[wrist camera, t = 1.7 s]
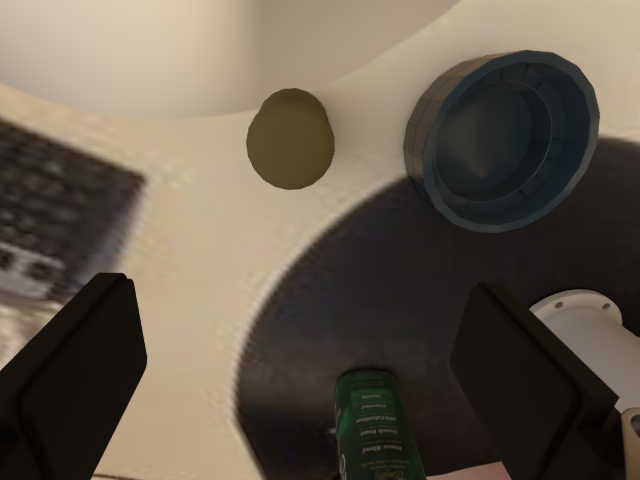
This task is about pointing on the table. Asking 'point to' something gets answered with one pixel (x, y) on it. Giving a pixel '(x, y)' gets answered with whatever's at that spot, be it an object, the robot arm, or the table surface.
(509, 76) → the bowl
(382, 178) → the table surface
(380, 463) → the coffee jar
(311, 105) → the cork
